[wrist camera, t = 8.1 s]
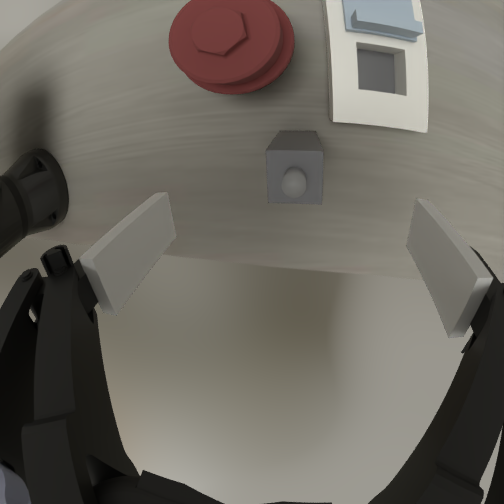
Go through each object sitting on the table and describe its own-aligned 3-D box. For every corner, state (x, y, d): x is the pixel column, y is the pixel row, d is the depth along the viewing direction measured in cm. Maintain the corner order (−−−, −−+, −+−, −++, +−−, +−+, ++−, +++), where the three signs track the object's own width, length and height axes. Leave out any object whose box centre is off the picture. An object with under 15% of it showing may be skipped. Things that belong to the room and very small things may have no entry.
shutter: (345, 31, 18) (351, 21, 15) (338, -21, 14) (342, -35, 11) (414, 42, 16) (428, 36, 13) (406, -9, 13) (418, -20, 10)
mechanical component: (199, 28, 23) (286, 9, 20) (215, 102, 28) (304, 87, 25) (143, 1, 12) (274, -38, 10) (165, 109, 17) (304, 80, 15)
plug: (281, 164, 30) (264, 213, 19) (279, 130, 28) (261, 156, 17) (315, 165, 30) (323, 215, 18) (316, 131, 28) (325, 157, 16)
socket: (329, 118, 27) (333, 121, 23) (319, -16, 18) (321, -29, 14) (413, 128, 25) (427, 133, 21) (405, -3, 16) (417, -13, 12)
